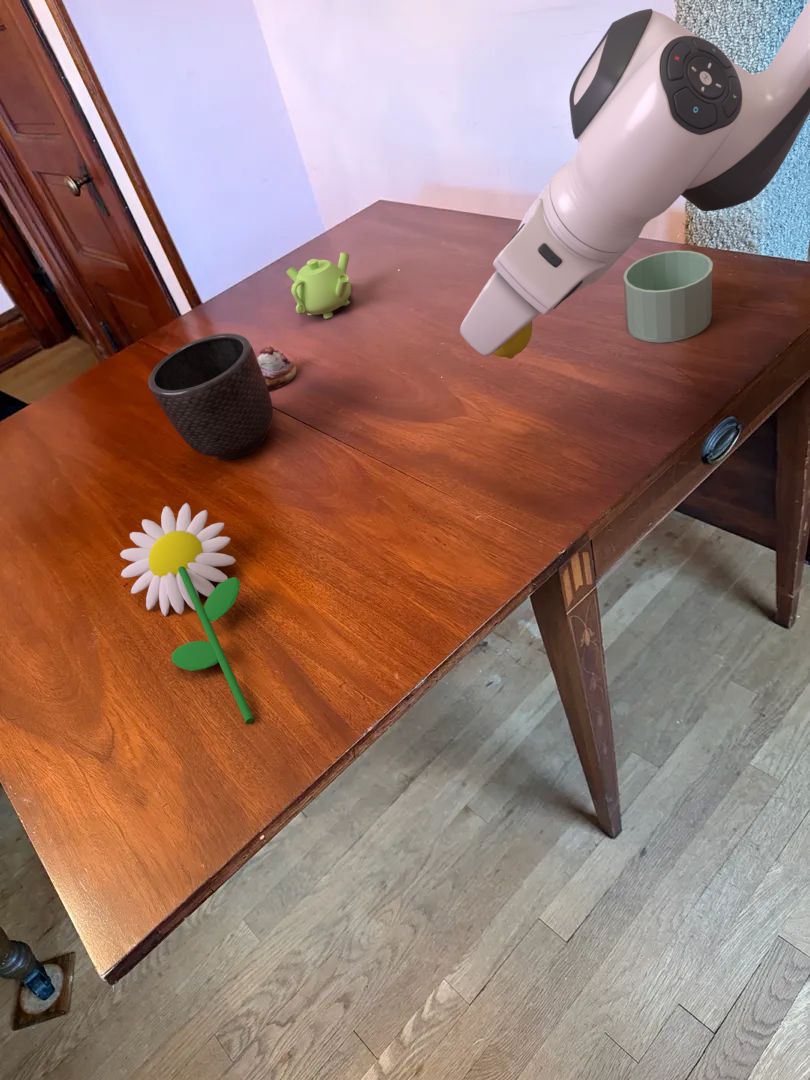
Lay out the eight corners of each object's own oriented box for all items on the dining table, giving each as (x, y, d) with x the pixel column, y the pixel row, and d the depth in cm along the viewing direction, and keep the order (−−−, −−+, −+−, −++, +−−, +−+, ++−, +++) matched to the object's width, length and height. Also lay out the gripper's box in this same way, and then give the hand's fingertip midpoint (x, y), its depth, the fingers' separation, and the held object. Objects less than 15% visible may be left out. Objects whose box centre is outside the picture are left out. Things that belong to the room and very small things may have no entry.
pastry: (306, 367, 114) (295, 338, 111) (276, 396, 110) (263, 367, 107) (269, 362, 118) (257, 335, 115) (238, 390, 114) (225, 362, 111)
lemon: (476, 370, 80) (461, 302, 75) (499, 342, 83) (486, 274, 78) (523, 374, 77) (511, 304, 72) (545, 345, 80) (535, 275, 75)
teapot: (295, 332, 124) (276, 285, 118) (298, 301, 132) (281, 256, 126) (359, 314, 122) (343, 265, 116) (359, 284, 131) (344, 237, 125)
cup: (729, 312, 95) (731, 260, 90) (672, 351, 92) (671, 299, 88) (664, 293, 102) (663, 244, 98) (610, 329, 99) (606, 280, 95)
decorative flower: (320, 696, 71) (219, 510, 90) (302, 673, 67) (201, 484, 86) (202, 771, 69) (125, 565, 88) (177, 751, 66) (102, 541, 84)
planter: (250, 479, 96) (207, 396, 88) (173, 470, 103) (125, 391, 94) (305, 414, 104) (270, 332, 96) (229, 409, 111) (190, 332, 102)
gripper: (603, 155, 70) (527, 251, 82) (489, 262, 60) (422, 352, 72) (650, 203, 70) (568, 291, 83) (545, 317, 61) (469, 397, 73)
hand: (499, 320), depth 77 cm, fingers closed on lemon, 5 cm apart
